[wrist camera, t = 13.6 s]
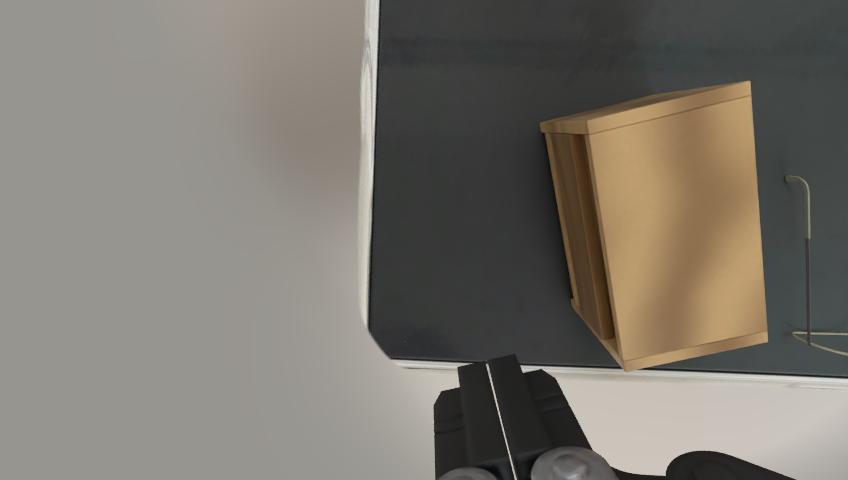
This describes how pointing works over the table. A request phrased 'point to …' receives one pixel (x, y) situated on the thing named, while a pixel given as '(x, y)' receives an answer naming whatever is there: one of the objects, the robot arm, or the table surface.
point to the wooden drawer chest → (663, 223)
